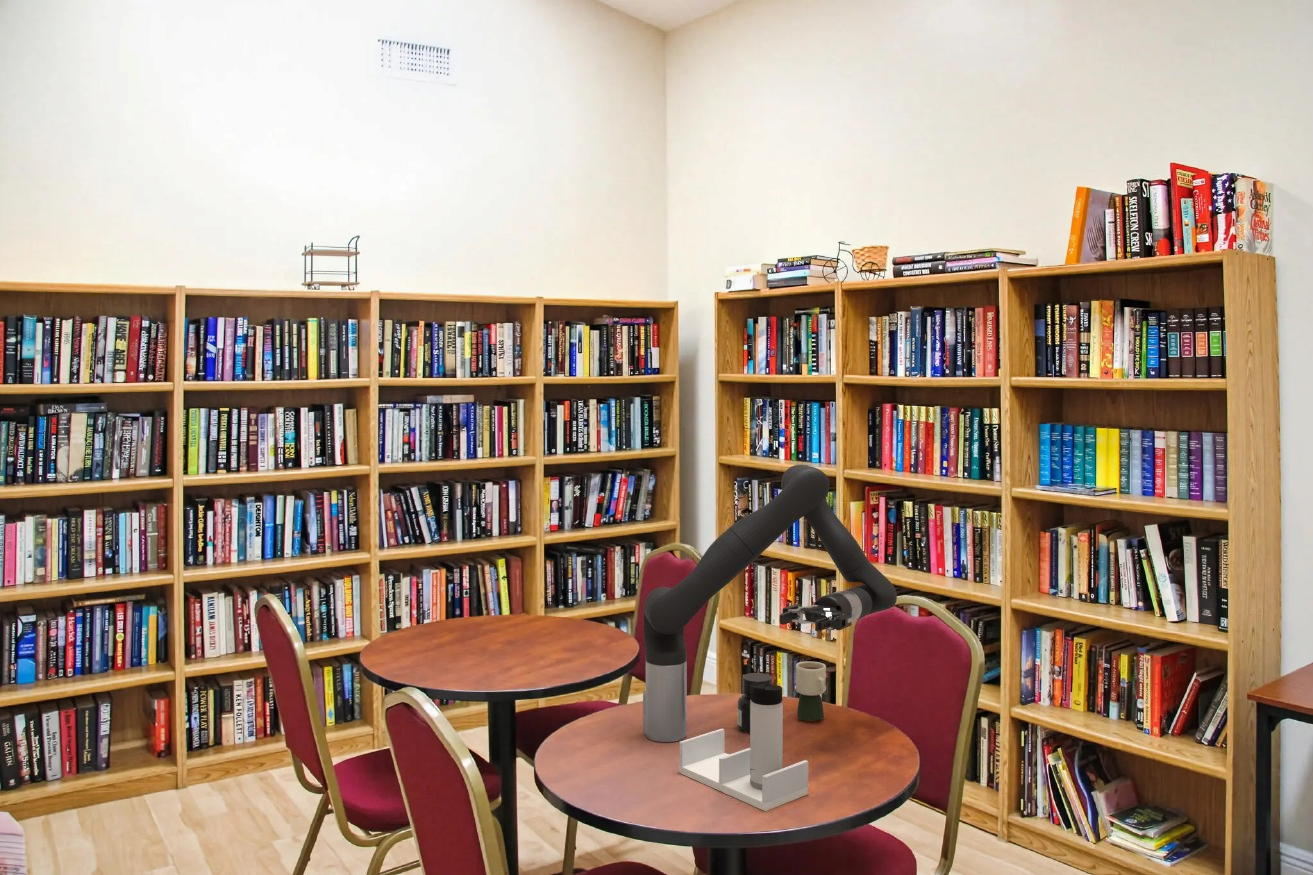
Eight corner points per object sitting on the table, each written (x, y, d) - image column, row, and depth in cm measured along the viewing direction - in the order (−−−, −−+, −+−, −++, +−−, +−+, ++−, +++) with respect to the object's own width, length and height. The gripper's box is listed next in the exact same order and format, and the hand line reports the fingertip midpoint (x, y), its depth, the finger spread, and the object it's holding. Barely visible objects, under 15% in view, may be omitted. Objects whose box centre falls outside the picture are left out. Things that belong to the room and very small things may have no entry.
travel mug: (743, 786, 197) (743, 685, 196) (758, 775, 203) (759, 676, 201) (772, 793, 194) (773, 690, 192) (787, 781, 199) (788, 681, 198)
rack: (679, 772, 208) (679, 741, 207) (721, 758, 216) (721, 728, 215) (765, 811, 190) (765, 777, 189) (807, 793, 197) (808, 761, 197)
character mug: (836, 724, 237) (836, 669, 236) (810, 728, 234) (811, 673, 233) (810, 710, 246) (810, 657, 246) (785, 714, 243) (785, 661, 243)
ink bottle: (750, 718, 240) (751, 668, 240) (783, 726, 235) (784, 675, 235) (729, 730, 233) (729, 678, 232) (762, 738, 227) (763, 685, 227)
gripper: (810, 588, 228) (770, 600, 215) (867, 597, 219) (829, 610, 206) (809, 621, 228) (769, 635, 216) (866, 631, 219) (828, 646, 207)
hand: (798, 623), depth 211 cm, fingers open, 8 cm apart
